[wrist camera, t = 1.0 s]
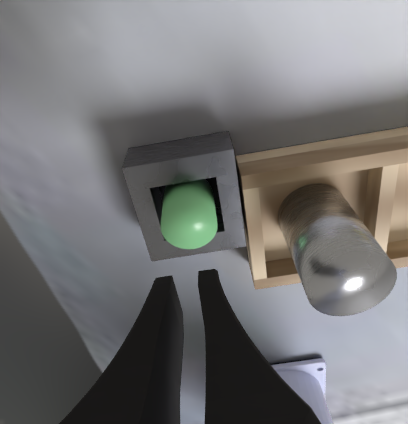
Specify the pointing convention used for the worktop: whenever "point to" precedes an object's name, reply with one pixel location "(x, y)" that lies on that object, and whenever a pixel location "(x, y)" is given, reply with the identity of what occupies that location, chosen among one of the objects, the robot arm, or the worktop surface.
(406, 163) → the wooden compartment tray
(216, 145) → the grey square socket block
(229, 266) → the worktop surface
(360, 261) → the seated billet
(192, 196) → the button
